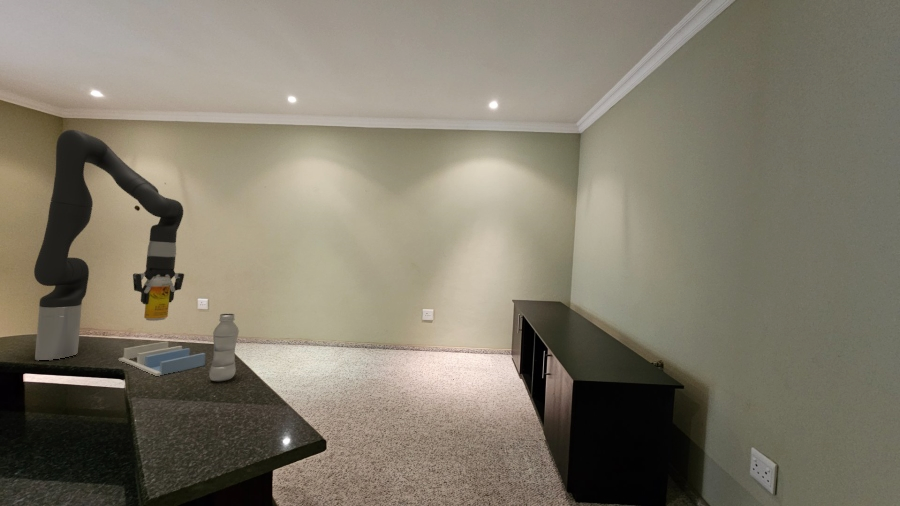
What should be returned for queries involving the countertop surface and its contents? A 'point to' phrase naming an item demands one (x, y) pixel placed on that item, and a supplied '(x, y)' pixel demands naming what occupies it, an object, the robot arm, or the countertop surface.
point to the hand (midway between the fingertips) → (157, 302)
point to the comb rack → (162, 358)
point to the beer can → (158, 299)
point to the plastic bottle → (224, 349)
